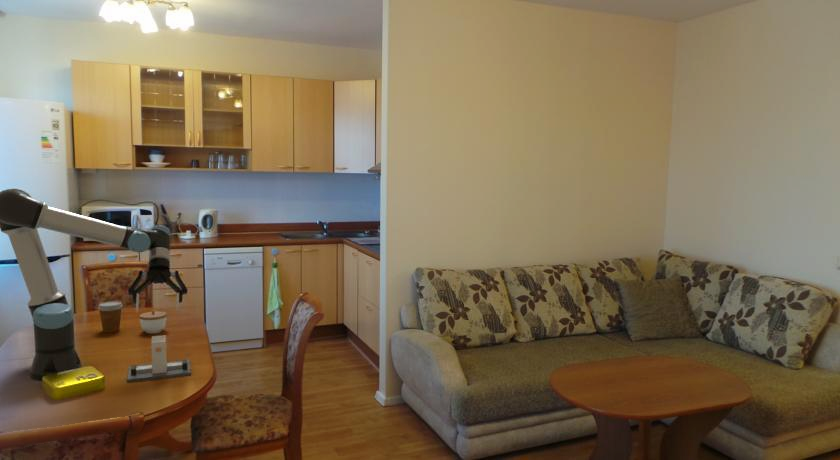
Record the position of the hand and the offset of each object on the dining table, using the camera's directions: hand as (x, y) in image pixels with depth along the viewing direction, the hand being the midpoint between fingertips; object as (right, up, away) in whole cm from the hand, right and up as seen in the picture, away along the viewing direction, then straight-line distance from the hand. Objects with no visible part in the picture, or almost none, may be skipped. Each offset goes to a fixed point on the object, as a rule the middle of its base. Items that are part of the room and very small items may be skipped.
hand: (157, 310), depth 208 cm
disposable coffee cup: (-39, -15, +40) cm, 58 cm away
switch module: (+4, -20, -7) cm, 22 cm away
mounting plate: (+4, -21, -7) cm, 23 cm away
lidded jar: (-20, -15, +40) cm, 48 cm away
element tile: (-17, -23, -23) cm, 36 cm away
